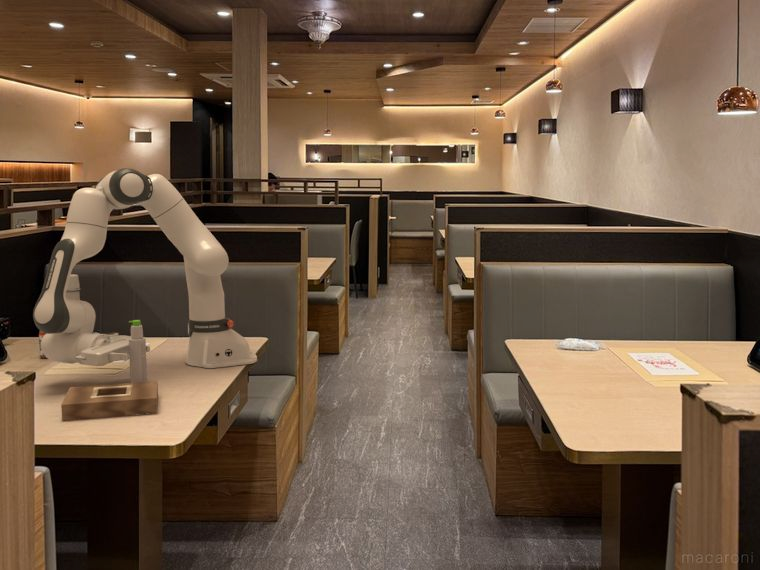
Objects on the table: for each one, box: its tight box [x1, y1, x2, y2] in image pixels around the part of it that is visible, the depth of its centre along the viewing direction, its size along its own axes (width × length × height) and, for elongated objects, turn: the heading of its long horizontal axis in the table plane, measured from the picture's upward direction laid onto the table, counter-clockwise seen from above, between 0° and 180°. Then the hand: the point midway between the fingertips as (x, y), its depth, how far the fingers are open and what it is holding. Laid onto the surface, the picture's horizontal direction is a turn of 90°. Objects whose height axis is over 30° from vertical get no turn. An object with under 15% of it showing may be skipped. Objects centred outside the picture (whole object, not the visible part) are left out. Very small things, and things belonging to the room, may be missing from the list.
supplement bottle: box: [38, 330, 49, 360], centre depth 242 cm, size 6×6×11 cm
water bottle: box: [66, 273, 82, 300], centre depth 257 cm, size 9×8×25 cm
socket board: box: [60, 380, 159, 421], centre depth 189 cm, size 22×16×4 cm
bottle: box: [128, 319, 148, 383], centre depth 202 cm, size 4×4×20 cm
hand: (138, 353), depth 201 cm, fingers open, 8 cm apart
